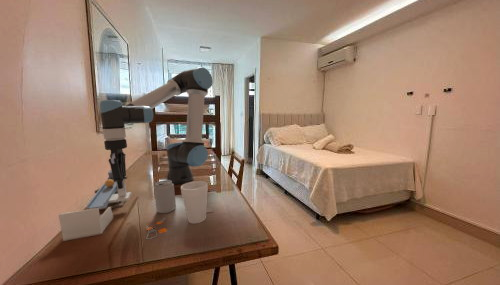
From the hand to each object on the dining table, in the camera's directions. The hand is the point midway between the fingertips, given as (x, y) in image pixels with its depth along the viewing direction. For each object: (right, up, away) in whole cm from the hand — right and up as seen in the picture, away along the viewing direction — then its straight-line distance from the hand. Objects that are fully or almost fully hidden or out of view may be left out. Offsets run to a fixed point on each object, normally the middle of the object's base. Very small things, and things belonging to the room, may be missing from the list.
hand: (122, 195), depth 86 cm
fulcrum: (-9, -6, +7) cm, 13 cm away
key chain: (+21, -8, -14) cm, 27 cm away
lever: (-6, +1, +7) cm, 9 cm away
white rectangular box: (-3, -8, -13) cm, 16 cm away
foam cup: (+34, -7, -10) cm, 36 cm away
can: (+19, -6, -1) cm, 20 cm away
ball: (-10, +4, +7) cm, 13 cm away
